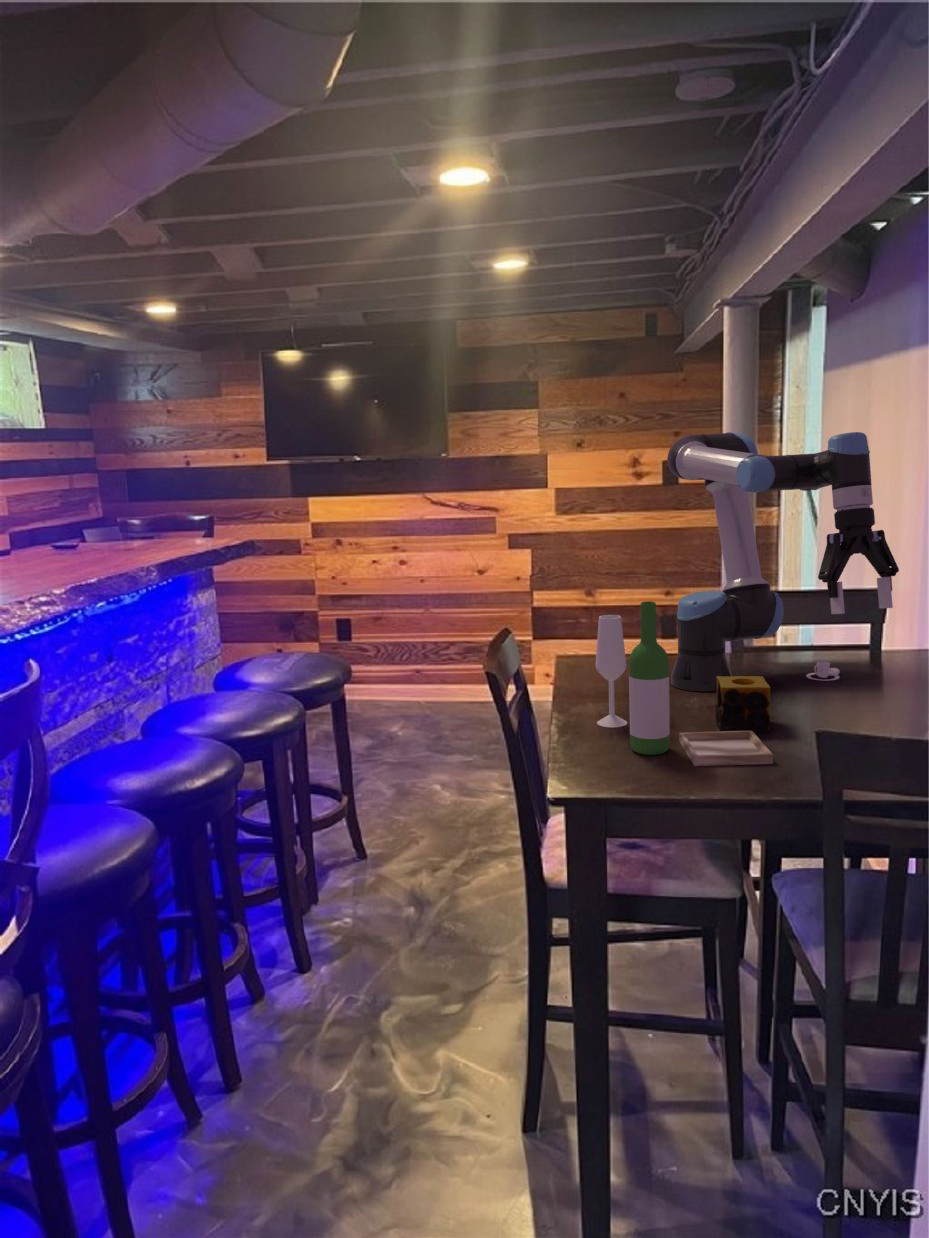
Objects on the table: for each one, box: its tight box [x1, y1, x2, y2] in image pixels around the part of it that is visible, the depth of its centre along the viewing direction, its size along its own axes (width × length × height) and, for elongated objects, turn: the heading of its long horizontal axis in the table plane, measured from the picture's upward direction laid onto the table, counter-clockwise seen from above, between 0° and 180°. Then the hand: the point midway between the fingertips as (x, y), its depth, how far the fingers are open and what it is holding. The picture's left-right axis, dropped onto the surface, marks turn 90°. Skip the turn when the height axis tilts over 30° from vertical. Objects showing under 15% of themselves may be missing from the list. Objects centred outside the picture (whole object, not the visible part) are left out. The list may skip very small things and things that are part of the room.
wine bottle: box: [628, 601, 671, 756], centre depth 167 cm, size 8×8×30 cm
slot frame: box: [678, 730, 774, 767], centre depth 166 cm, size 15×15×2 cm
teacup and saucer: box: [805, 661, 841, 682], centre depth 217 cm, size 9×8×4 cm
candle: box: [715, 675, 771, 734], centre depth 181 cm, size 10×10×10 cm
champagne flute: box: [595, 614, 628, 728], centre depth 186 cm, size 7×7×24 cm
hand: (862, 611), depth 175 cm, fingers open, 13 cm apart
